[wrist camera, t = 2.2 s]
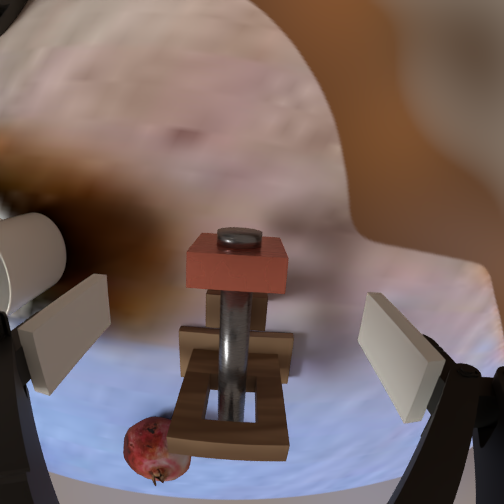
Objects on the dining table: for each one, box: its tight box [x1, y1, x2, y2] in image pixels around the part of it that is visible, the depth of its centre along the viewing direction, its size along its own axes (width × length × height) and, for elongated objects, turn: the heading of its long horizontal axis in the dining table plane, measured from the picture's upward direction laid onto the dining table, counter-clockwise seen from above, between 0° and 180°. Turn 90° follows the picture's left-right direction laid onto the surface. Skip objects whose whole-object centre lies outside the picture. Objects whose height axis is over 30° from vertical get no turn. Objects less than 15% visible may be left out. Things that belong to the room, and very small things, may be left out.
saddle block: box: [206, 289, 268, 331], centre depth 29 cm, size 3×5×6 cm, turn 86°
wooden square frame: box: [166, 326, 294, 461], centre depth 27 cm, size 6×12×14 cm, turn 86°
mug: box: [0, 213, 66, 317], centre depth 26 cm, size 12×9×11 cm
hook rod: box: [186, 227, 288, 422], centre depth 25 cm, size 19×6×7 cm, turn 176°
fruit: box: [123, 416, 191, 486], centre depth 33 cm, size 9×10×10 cm
